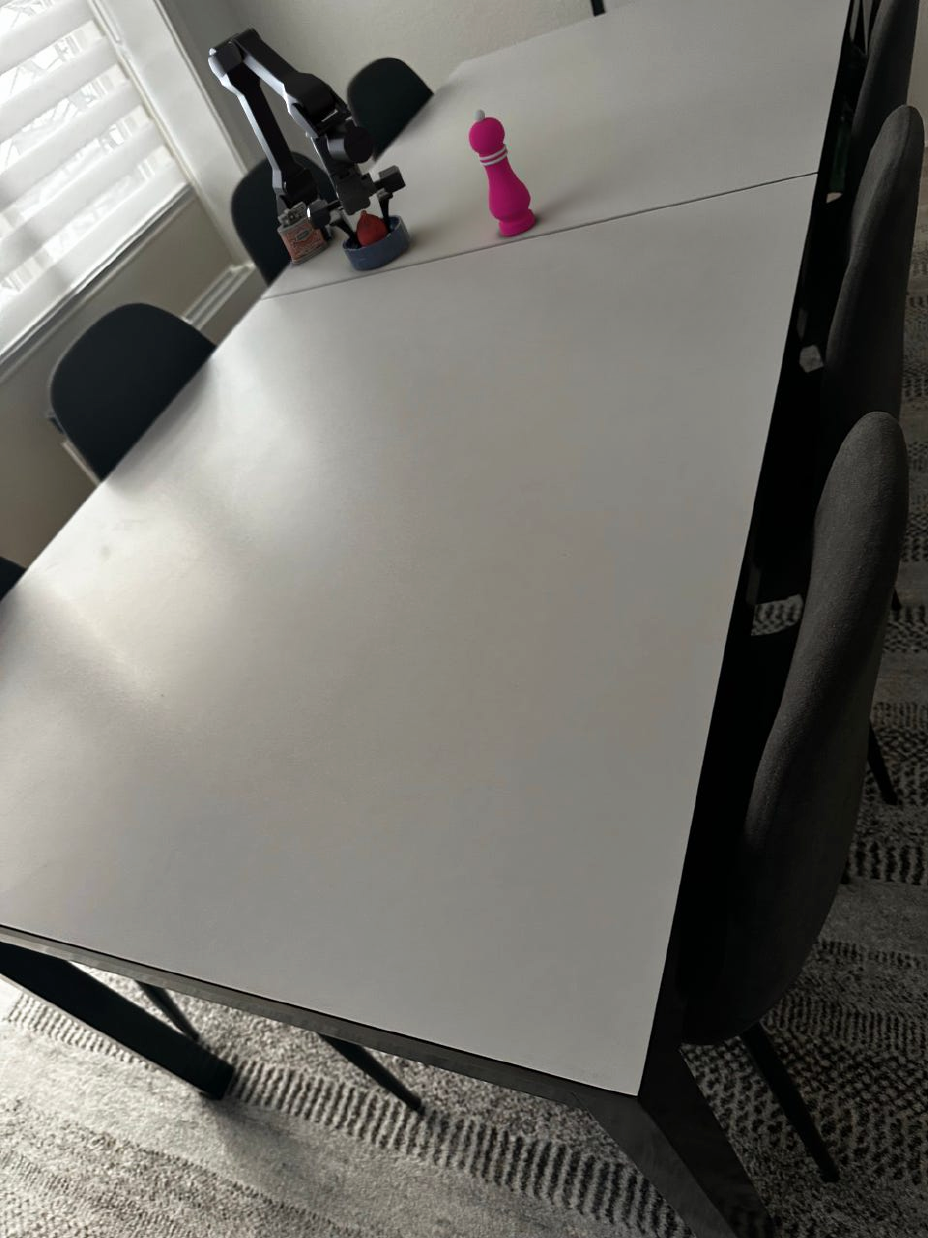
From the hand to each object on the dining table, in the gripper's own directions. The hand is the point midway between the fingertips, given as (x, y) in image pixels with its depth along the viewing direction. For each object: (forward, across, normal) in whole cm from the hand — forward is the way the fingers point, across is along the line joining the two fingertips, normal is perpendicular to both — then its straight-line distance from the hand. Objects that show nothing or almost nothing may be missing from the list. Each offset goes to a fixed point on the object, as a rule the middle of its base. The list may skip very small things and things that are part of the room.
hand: (375, 240), depth 176 cm
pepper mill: (+3, +24, -17) cm, 30 cm away
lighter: (+3, -14, +18) cm, 23 cm away
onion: (+2, 0, 0) cm, 2 cm away
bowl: (+3, 0, 0) cm, 3 cm away
